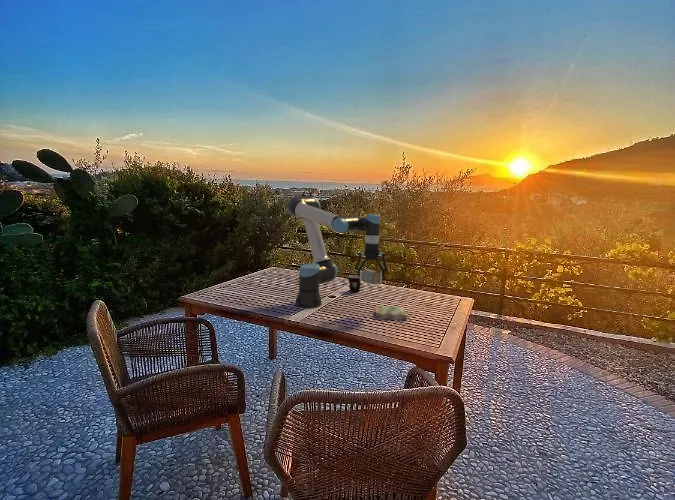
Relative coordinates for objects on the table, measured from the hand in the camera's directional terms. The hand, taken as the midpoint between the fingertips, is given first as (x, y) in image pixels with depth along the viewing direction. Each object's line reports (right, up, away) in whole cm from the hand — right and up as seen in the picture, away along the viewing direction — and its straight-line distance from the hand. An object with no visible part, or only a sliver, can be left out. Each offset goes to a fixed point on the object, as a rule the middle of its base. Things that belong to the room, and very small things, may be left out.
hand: (370, 282), depth 206 cm
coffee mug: (-8, -9, +46) cm, 47 cm away
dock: (+11, -18, -2) cm, 21 cm away
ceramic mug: (+1, 0, +1) cm, 1 cm away
